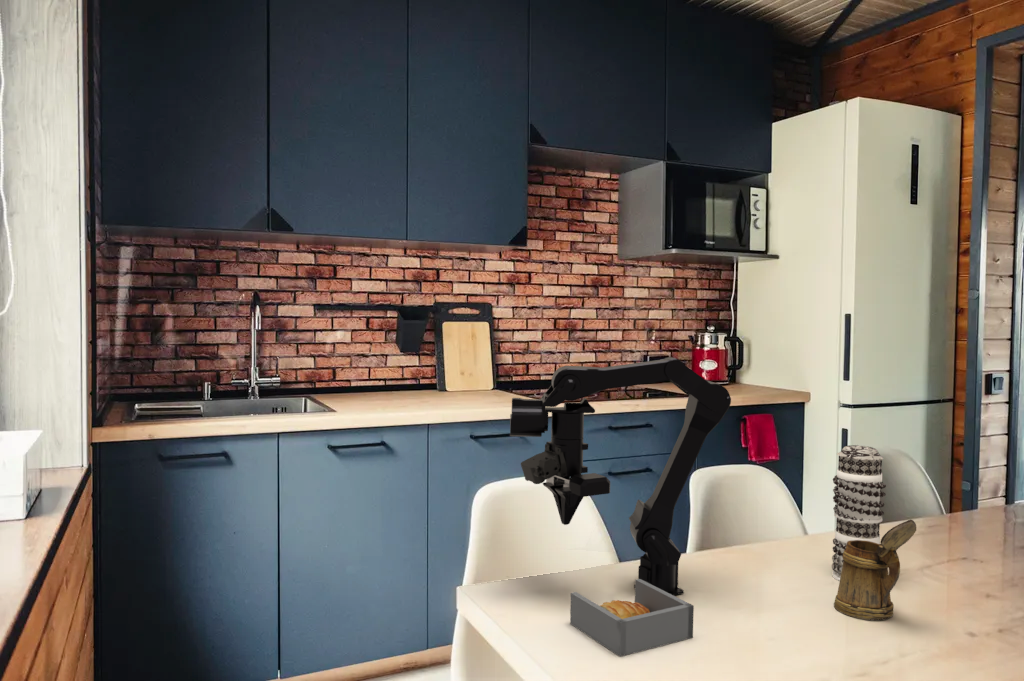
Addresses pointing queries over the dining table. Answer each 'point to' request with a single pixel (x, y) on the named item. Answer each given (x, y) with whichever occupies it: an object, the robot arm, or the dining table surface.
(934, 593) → the dining table surface
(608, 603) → the pastry
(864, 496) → the decorative candle
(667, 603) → the box
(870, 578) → the wooden mug
